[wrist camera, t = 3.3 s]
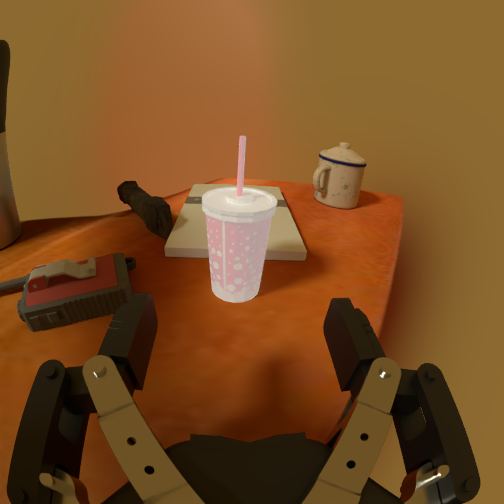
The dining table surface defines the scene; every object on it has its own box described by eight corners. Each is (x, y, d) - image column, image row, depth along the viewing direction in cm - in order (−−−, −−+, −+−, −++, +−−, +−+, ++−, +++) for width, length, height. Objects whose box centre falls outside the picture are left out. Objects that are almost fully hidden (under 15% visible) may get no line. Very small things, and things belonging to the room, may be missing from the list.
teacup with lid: (331, 191, 56) (339, 139, 50) (366, 206, 50) (377, 149, 44) (292, 198, 50) (300, 136, 44) (330, 216, 44) (342, 147, 38)
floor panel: (165, 256, 30) (164, 245, 29) (194, 189, 50) (194, 182, 50) (305, 260, 31) (307, 249, 30) (277, 192, 52) (278, 185, 51)
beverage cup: (275, 279, 28) (293, 138, 21) (251, 316, 23) (267, 145, 16) (222, 263, 30) (226, 130, 22) (191, 294, 25) (185, 137, 18)
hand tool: (118, 203, 44) (115, 178, 42) (138, 198, 46) (136, 174, 44) (150, 249, 32) (146, 214, 29) (179, 240, 34) (177, 206, 32)
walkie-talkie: (134, 260, 29) (-7, 294, 20) (128, 225, 27) (-20, 263, 18) (149, 309, 23) (-22, 347, 14) (141, 268, 21) (-43, 313, 12)
